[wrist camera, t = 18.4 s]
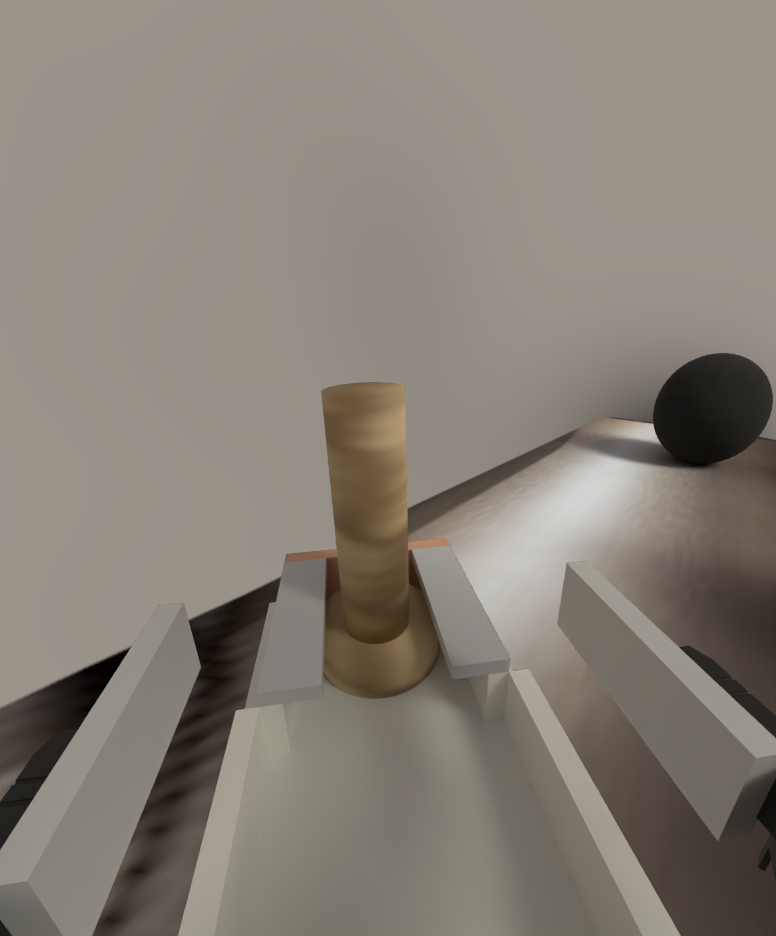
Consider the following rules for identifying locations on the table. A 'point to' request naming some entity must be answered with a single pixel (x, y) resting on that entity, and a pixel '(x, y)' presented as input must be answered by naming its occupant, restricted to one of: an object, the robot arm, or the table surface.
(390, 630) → the headed peg
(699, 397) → the decorative egg
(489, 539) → the table surface
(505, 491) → the table surface
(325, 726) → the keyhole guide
